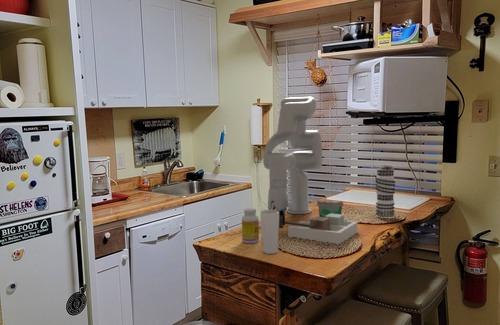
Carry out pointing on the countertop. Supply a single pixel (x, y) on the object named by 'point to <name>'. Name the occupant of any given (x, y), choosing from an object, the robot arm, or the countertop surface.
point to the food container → (329, 208)
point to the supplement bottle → (250, 226)
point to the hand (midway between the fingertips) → (279, 225)
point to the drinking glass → (270, 230)
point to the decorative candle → (385, 191)
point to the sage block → (336, 219)
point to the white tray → (325, 232)
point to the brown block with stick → (311, 223)
